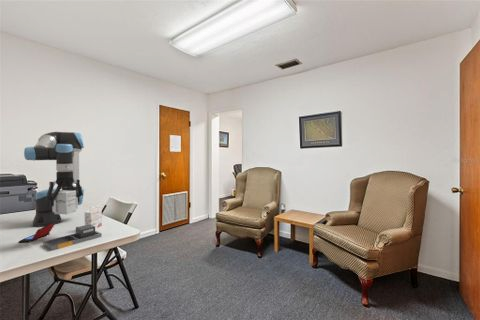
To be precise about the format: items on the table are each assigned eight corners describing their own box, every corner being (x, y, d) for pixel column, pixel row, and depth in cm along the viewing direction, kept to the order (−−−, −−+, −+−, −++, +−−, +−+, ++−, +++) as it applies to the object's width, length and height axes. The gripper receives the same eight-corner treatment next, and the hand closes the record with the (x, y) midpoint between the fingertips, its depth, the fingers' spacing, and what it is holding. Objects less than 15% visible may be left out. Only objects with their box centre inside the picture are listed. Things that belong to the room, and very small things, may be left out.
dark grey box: (75, 238, 126) (75, 227, 126) (89, 234, 132) (89, 224, 132) (81, 240, 122) (81, 229, 122) (95, 236, 128) (95, 226, 128)
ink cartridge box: (95, 226, 149) (95, 204, 148) (102, 226, 148) (101, 204, 148) (84, 230, 140) (84, 207, 140) (91, 231, 139) (90, 207, 139)
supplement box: (53, 214, 125) (53, 192, 125) (64, 211, 133) (64, 189, 132) (66, 214, 125) (66, 192, 124) (76, 211, 132) (76, 190, 132)
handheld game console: (36, 235, 133) (36, 222, 133) (55, 234, 134) (55, 222, 134) (17, 243, 121) (16, 229, 120) (38, 243, 121) (38, 229, 121)
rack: (42, 246, 116) (42, 241, 116) (92, 233, 135) (92, 229, 135) (51, 252, 109) (51, 246, 109) (101, 237, 128) (101, 233, 128)
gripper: (41, 172, 116) (42, 215, 117) (89, 170, 135) (90, 207, 136) (37, 172, 121) (38, 213, 122) (84, 169, 139) (84, 205, 140)
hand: (65, 209), depth 129 cm, fingers closed on supplement box, 10 cm apart
